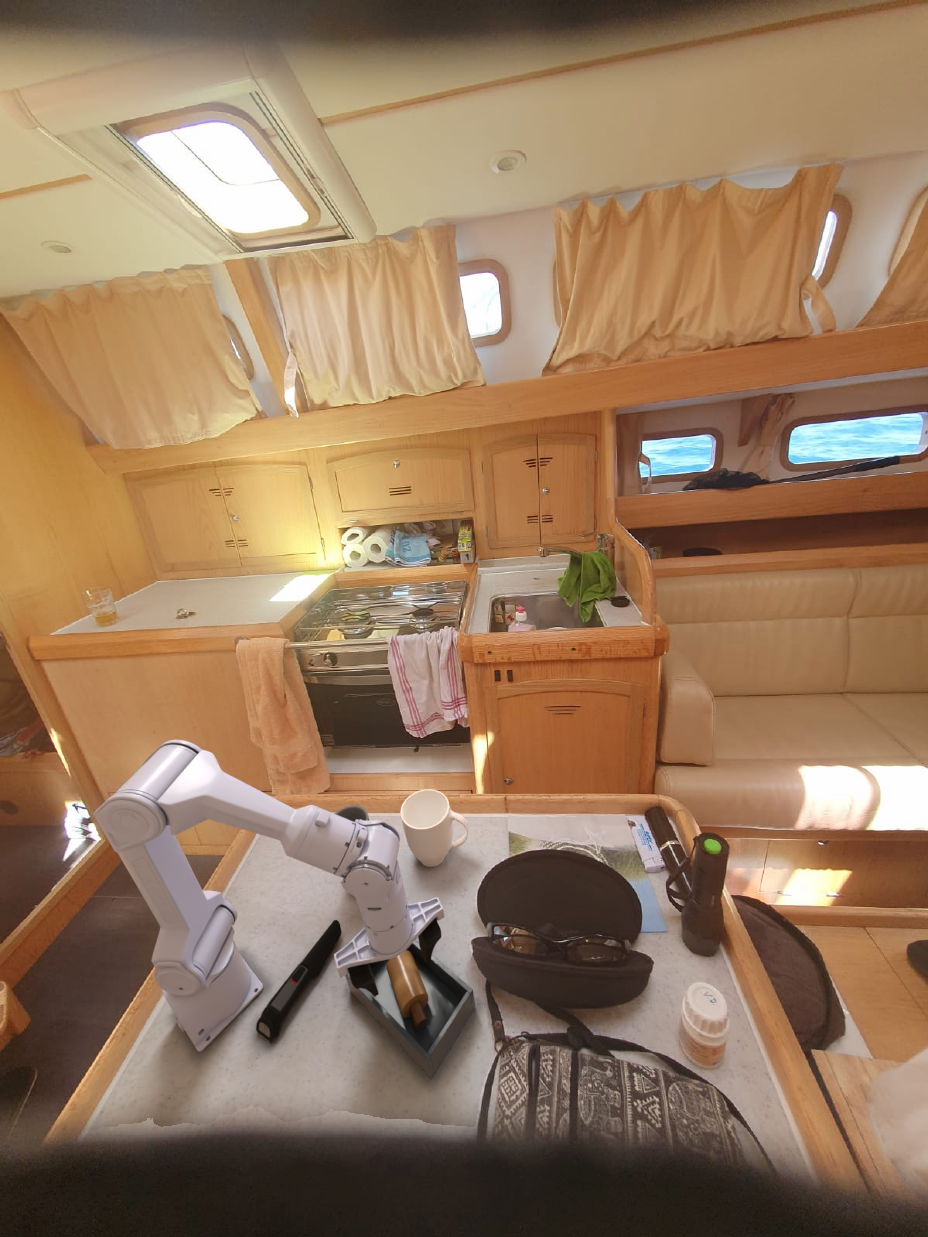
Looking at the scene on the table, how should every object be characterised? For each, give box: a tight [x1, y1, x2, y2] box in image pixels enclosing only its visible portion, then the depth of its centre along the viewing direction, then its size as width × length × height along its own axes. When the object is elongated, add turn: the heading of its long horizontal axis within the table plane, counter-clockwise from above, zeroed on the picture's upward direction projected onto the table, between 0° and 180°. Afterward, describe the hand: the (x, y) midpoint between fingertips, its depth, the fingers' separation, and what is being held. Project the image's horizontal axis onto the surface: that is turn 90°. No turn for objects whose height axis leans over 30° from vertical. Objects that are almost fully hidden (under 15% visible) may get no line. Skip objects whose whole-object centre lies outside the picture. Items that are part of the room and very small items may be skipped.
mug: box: [400, 788, 469, 868], centre depth 83 cm, size 12×9×12 cm
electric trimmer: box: [255, 919, 343, 1043], centre depth 67 cm, size 4×16×3 cm, turn 153°
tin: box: [344, 939, 476, 1080], centre depth 63 cm, size 9×16×4 cm, turn 52°
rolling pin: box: [386, 950, 429, 1030], centre depth 64 cm, size 4×11×4 cm, turn 28°
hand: (400, 972), depth 62 cm, fingers open, 7 cm apart
